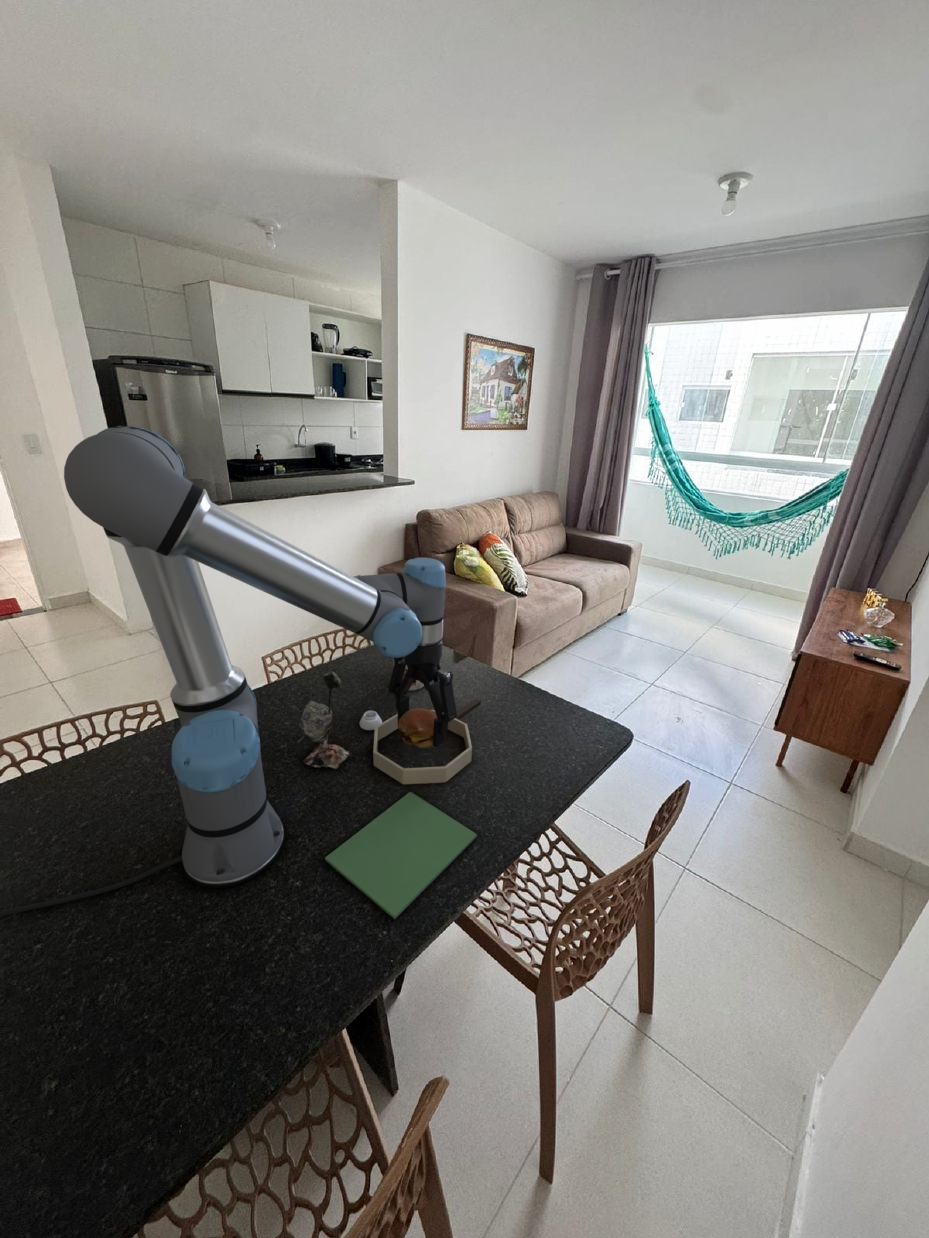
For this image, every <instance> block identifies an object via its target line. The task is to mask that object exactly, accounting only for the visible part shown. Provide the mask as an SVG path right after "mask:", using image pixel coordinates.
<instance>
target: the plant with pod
mask: <svg viewBox="0 0 929 1238" xmlns="http://www.w3.org/2000/svg"><path fill="white" fill-rule="evenodd" d="M322 679H323V681H324V684H325V686H326V687H327V688H328V706H327V705H326V704H323V703H320V702H317V701H314V700H309V701H308V702H307V704H305V707H304V709H303V712H302V716H301V719H300V722H299V730H300V731H301V734H302V736H301V738H300V739H299V740H297V744H301V743H302V742H303V741H304V740H305V739H306V738H309V740H311V741H312V742H313V743H318V744H317V745H315V747H314V748H313V750H312V751H311V752H310V754H308V756H307V757H306V758H304V760H303V763H304V765H308V766H311V767H314V768H322V767H324V768H328V767H329V768H331V769H334V770H336V769H338V768H340V766H342V764H343V763H345V760H346V759H348V758H349V757H351V756H352V755H353V753H352V751H351V750H348V749H347V750H346V749H345V748H343V747H342V746H340V745H337V744H334V743H333V744H332V743H331V744H330V734H331V732H332V729H333V719H334V714H333V710H332V709H331V699H332V692H333V691H332V690H333V689H334V688H336V689H339V690H340V691H341V692H342V691H344V689H343V688H342V686H341V685H342V680H341V678H339V676H338V675H337V673H335V672H334V671H329V672H326V673H325V674H323V675H322ZM311 699H313V697H312V696H311Z"/></svg>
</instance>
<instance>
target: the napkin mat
mask: <svg viewBox="0 0 929 1238" xmlns="http://www.w3.org/2000/svg"><path fill="white" fill-rule="evenodd" d="M477 837H478V835H477V833H476V832H474V831H473V830H471V829H470V828H468V827H466V826H465V825H463V824H462V823H460V822H458V821H457V820H455V819H454V818H452V817H451V816H449V815H448V814H446V813H445V812H443V811H442V810H440V809H438V808H437V807H435V806H434V805H432V804H431V803H429V802H428V801H426V800H424V799H423V798H422V797H420V796H418V795H417V794H415V793H414V792H412V791H409V792H408V793H406V794H405V795H404V796H403V797H401V798H400V799H399V800H398V801H396V802H394V803H393V804H392V805H391V806H389V807H388V808H387V809H386V810H384V811H383V812H381V813H380V814H378V816H377V817H375V818H374V819H373V820H371V821H370V822H369V823H368V824H366V825H365V826H364V827H362V828H361V829H360V830H359V831H357V832H356V833H355V834H353V835H352V836H351V837H350V838H348V839H346V840H345V841H344V842H343V843H342V844H340V845H339V846H338V847H337V848H336V849H334V850H333V851H331V852H330V853H329V854H327V856H325V857H324V861H325V862H326V863H328V864H329V865H330V866H331V867H332V868H333V869H335V870H336V871H337V872H338V873H339V874H340V875H342V876H343V877H344V878H345V879H346V880H347V881H349V882H350V883H351V884H352V885H354V887H356V888H357V889H358V890H359V891H361V892H362V894H364V895H365V897H367V898H369V899H370V900H371V901H372V902H374V904H376V906H378V907H379V908H380V909H381V910H383V911H384V912H385V913H386V914H387V915H389V916H390V917H391V918H392V919H394V920H396V919H397V918H398V917H399V916H400V915H401V914H402V913H403V912H404V911H405V910H406V909H407V908H408V907H409V906H410V905H411V904H412V903H413V902H414V901H415V900H416V899H417V898H418V897H419V896H420V895H421V894H422V893H423V892H424V891H425V890H426V889H427V888H428V887H429V885H431V884H432V883H433V882H434V880H435V879H436V878H438V876H440V875H441V873H443V872H444V871H445V870H446V868H448V867H449V866H450V864H452V863H453V862H454V860H456V858H457V857H458V856H460V855H461V854H462V853H463V852H464V851H465V849H466V848H468V846H469V845H470V844H472V842H473V841H475V839H477Z"/></svg>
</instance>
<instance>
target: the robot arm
mask: <svg viewBox="0 0 929 1238" xmlns="http://www.w3.org/2000/svg"><path fill="white" fill-rule="evenodd" d="M185 472H186V469H185V465H184V462H183V460H182V457H181V456H180V454H179V453H178V452H177V450H176V449H175V448H174V446H173V445H172V444H171V443H170V442H169V441H168V440H166V439H165V438H164V437H162V436H160V435H159V434H157V433H156V432H153V431H152V430H149V429H147V428H142V427H139V426H134V425H130V426H129V425H128V426H127V425H126V426H123V425H117V426H115V427H107V428H105V429H103V430H101V431H99V432H98V433H97V434H94V435H90V436H88V437H86V438H84V439H83V440H81V441H80V442H79V443H77V444H76V445H75V446H74V447H73V449H72V450H71V451H70V452H69V453H68V455H67V457H66V459H65V464H64V468H63V480H64V485H65V489H66V491H67V494H68V496H69V498H70V500H71V501H72V503H73V504H74V505H75V507H76V508H77V509H78V510H79V511H80V512H81V513H82V514H83V515H84V516H86V517H87V518H88V519H90V520H91V522H93V523H95V524H96V525H98V526H100V527H102V529H103V531H104V533H105V536H106V538H108V539H109V540H112V541H115V542H117V543H119V544H121V545H122V547H123V548H124V551H125V553H126V556H127V558H128V561H129V564H130V566H131V568H132V572H133V574H134V577H135V579H136V581H137V584H138V587H139V589H140V592H141V594H142V597H143V601H144V602H145V605H146V607H147V610H148V613H149V615H150V617H151V620H152V623H153V626H154V629H155V631H156V633H157V636H158V638H159V641H160V644H161V646H162V649H163V651H164V654H165V657H166V659H167V662H168V664H169V667H170V670H171V672H172V674H173V675H172V676H173V677H174V680H175V682H176V683H175V684H174V685H173V687H172V689H170V694H169V697H170V700H171V702H172V704H173V707H174V709H175V712H176V715H177V718H178V720H179V722H180V726H181V728H180V729H179V730H178V731H177V733H176V734H175V736H174V738H173V740H172V744H171V766H172V769H173V772H174V774H175V777H176V781H177V786H178V790H179V793H180V797H181V802H182V806H183V811H184V814H185V819H186V822H187V826H186V831H185V835H184V841H183V845H182V850H181V855H180V856H177V857H175V858H172V859H170V860H168V861H166V862H164V863H161V864H159V865H157V866H155V867H152V868H151V869H148V870H146V871H145V872H142V873H141V874H138V875H135V876H133V877H130V878H128V879H125V880H123V881H119V882H116V883H113V884H111V885H107V886H104V887H100V888H96V889H92V890H88V891H84V892H81V893H76V894H73V895H68V896H65V897H60V898H59V897H58V898H56V899H51V900H46V901H40V902H36V903H31V904H26V905H22V906H16V907H13V908H9V909H5V910H1V911H0V918H5V917H8V916H12V915H15V914H20V913H24V912H28V911H29V912H30V911H33V910H39V909H44V908H49V907H53V906H59V905H63V904H66V903H70V902H75V901H78V900H83V899H87V898H91V897H94V896H98V895H101V894H105V893H108V892H111V891H114V890H115V891H116V890H117V889H118V890H119V889H121V888H124V887H127V886H130V885H132V884H135V883H137V882H139V881H142V880H144V879H146V878H148V877H150V876H152V875H154V874H156V873H158V872H161V871H163V870H165V869H168V868H169V867H171V866H174V865H176V864H178V863H181V862H182V866H183V870H184V874H185V875H186V876H187V878H188V879H189V880H190V881H191V882H192V883H194V884H196V885H197V886H200V887H202V888H206V889H226V888H232V887H236V886H239V885H242V884H244V883H247V882H249V881H252V880H254V879H255V878H256V877H258V876H259V875H261V874H262V873H264V872H265V871H266V870H268V869H269V868H270V867H271V866H272V865H273V864H274V862H275V861H276V860H277V858H279V856H280V854H281V852H282V849H283V846H284V842H285V832H284V826H283V823H282V820H281V818H280V817H279V815H278V813H277V812H276V811H275V809H274V807H273V806H272V805H271V803H270V801H269V800H268V796H267V789H266V782H265V776H264V769H263V762H262V755H261V754H262V753H261V740H260V739H261V738H260V734H259V733H260V732H259V723H258V710H257V709H258V703H257V699H256V696H255V693H254V691H253V690H252V688H251V686H250V685H249V683H248V681H247V678H246V674H245V672H244V670H243V669H242V668H241V667H238V666H235V665H232V662H231V659H230V656H229V653H228V650H227V647H226V644H225V640H224V637H223V634H222V632H221V631H222V630H221V628H220V624H219V622H218V618H217V616H216V612H215V609H214V607H213V604H212V600H211V597H210V594H209V591H208V588H207V584H206V581H205V578H204V575H203V572H202V569H201V566H200V564H202V565H204V566H207V567H209V568H211V569H213V570H215V571H218V572H220V573H221V574H224V575H226V576H228V577H230V578H232V579H235V580H237V581H240V582H242V583H244V584H246V585H249V586H250V587H253V588H255V589H257V590H259V591H261V592H263V593H265V594H267V595H271V596H272V597H275V598H277V599H279V600H281V601H282V602H285V603H288V604H290V605H292V606H294V607H297V608H299V609H301V610H303V611H305V612H307V613H310V614H312V615H314V616H315V617H318V618H321V619H322V620H325V621H327V622H329V623H332V624H333V625H336V626H338V627H340V628H342V629H345V630H347V631H349V632H352V633H354V634H356V635H358V636H360V637H362V638H364V639H366V640H367V641H370V642H372V643H373V645H374V647H375V648H376V649H377V650H378V651H380V653H381V654H382V655H384V656H386V657H388V658H392V659H393V658H394V667H393V666H392V667H393V668H392V673H391V676H390V681H389V684H388V688H387V689H388V692H389V693H390V694H393V695H394V698H395V709H396V711H397V714H398V721H399V719H400V718H401V717H402V715H403V714H404V713H405V712H407V711H409V710H410V696H409V695H408V694H409V691H408V690H409V689H410V687H411V685H412V684H413V682H414V680H418V681H420V682H421V683H423V684H424V686H423V687H424V690H425V691H427V693H428V696H429V698H430V702H431V705H432V707H433V710H435V713H436V716H437V718H436V719H434V735H433V746H432V747H434V748H438V747H439V746H441V745H442V744H443V743H445V738H446V732H448V731H449V730H448V722H450V721H451V720H453V719H454V718H456V717H457V705H456V699H455V693H454V686H453V680H454V679H453V678H454V673H453V672H452V671H447V672H446V671H444V670H442V667H441V663H440V662H441V659H442V656H443V636H444V617H445V616H444V615H445V614H444V613H445V612H444V611H445V597H446V588H447V584H446V583H447V582H446V579H447V577H446V568H445V567H446V566H445V565H444V564H443V562H441V561H440V560H438V559H436V558H432V557H415V558H410V559H408V560H407V561H405V564H404V568H403V571H401V572H394V573H381V574H380V573H379V574H367V575H366V574H365V575H361V574H357V575H353V576H352V575H350V574H348V573H347V572H345V571H343V570H341V569H339V568H338V567H335V566H333V565H332V564H330V563H328V562H326V561H325V560H322V559H320V558H318V557H316V556H314V555H313V554H311V553H309V552H307V551H305V550H304V549H302V548H299V547H298V546H295V545H294V544H292V543H290V542H288V541H286V540H284V539H283V538H281V537H279V536H277V535H275V534H273V533H271V532H269V531H267V530H265V529H264V528H262V527H260V526H259V525H255V523H252V522H250V521H249V520H246V519H244V518H243V517H240V516H239V515H238V514H235V513H233V512H231V511H230V510H228V509H226V508H224V507H221V506H220V505H218V504H216V503H214V502H212V500H211V498H210V496H209V494H208V492H207V489H205V488H203V487H201V486H199V485H198V484H197V483H196V484H195V483H194V482H192V481H191V480H189V479H187V478H186V474H185ZM406 665H407V667H408V670H407V672H406V674H405V675H404V671H405V667H406ZM403 675H404V679H403ZM402 679H403V681H402ZM442 713H443V714H442Z"/></svg>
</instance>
